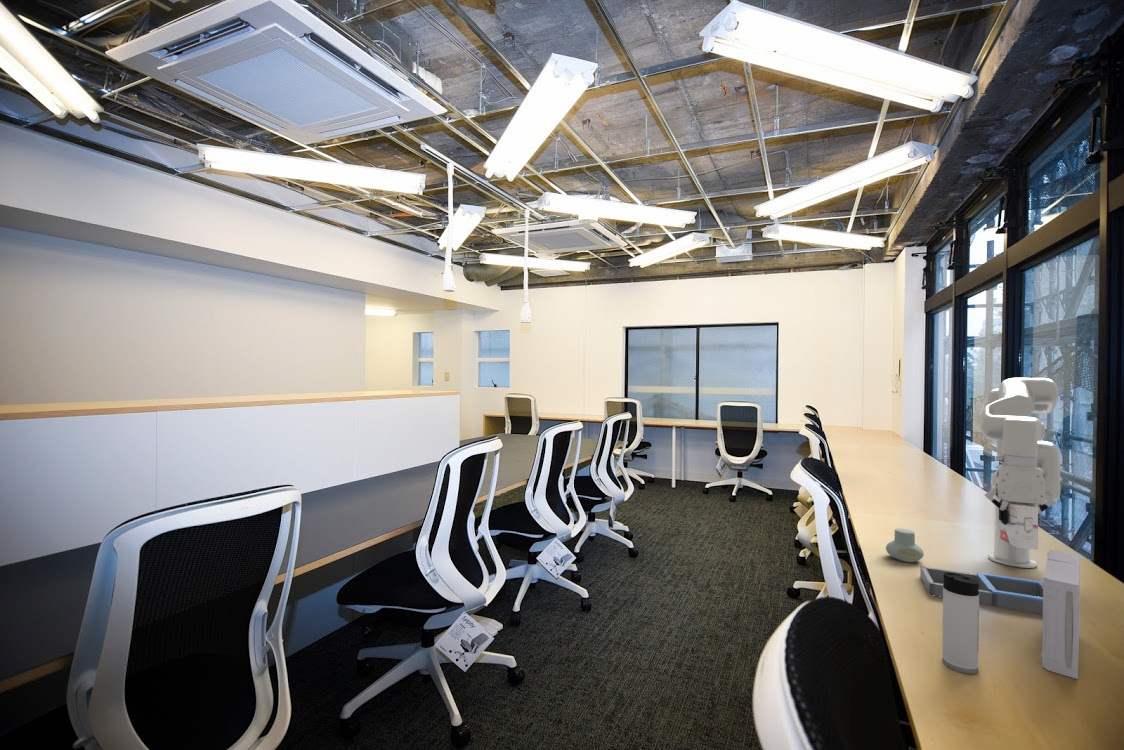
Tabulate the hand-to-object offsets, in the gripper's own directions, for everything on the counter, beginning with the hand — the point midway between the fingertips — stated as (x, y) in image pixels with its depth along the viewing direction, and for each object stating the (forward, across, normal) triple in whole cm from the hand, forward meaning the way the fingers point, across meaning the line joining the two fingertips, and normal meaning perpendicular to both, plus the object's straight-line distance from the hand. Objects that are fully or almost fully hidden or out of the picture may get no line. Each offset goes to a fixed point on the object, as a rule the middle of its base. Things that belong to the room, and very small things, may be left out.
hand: (1018, 524), depth 147 cm
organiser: (+22, -7, 0) cm, 23 cm away
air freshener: (+22, -24, +24) cm, 41 cm away
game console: (+22, 0, -30) cm, 37 cm away
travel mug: (+22, -23, -50) cm, 59 cm away
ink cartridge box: (+6, 0, 0) cm, 6 cm away
